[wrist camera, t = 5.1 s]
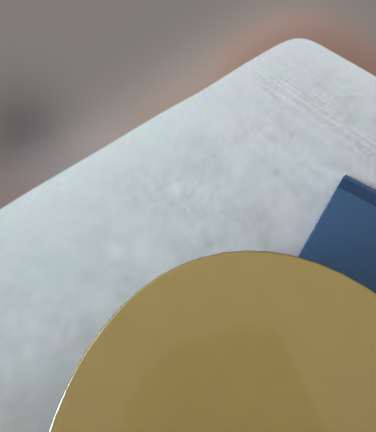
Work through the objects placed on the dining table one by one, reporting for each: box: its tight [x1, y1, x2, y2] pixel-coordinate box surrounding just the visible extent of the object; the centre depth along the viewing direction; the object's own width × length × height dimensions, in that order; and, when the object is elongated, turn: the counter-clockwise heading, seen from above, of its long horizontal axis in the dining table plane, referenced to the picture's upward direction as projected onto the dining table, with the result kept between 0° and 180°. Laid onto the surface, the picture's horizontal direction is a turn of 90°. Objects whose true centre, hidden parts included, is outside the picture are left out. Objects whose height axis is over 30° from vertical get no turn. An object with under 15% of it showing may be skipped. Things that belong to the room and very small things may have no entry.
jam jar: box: [49, 251, 376, 432], centre depth 8 cm, size 6×6×13 cm
